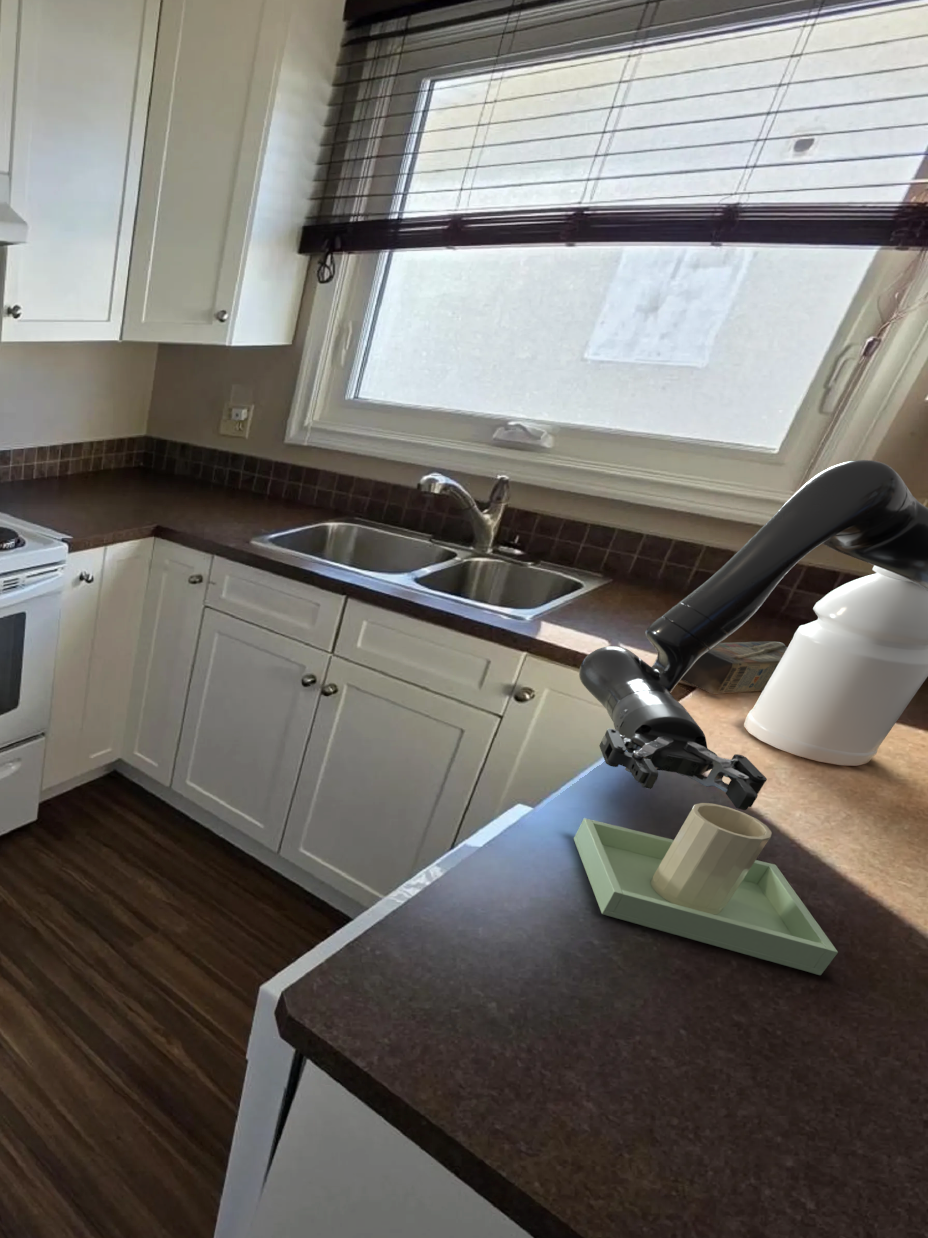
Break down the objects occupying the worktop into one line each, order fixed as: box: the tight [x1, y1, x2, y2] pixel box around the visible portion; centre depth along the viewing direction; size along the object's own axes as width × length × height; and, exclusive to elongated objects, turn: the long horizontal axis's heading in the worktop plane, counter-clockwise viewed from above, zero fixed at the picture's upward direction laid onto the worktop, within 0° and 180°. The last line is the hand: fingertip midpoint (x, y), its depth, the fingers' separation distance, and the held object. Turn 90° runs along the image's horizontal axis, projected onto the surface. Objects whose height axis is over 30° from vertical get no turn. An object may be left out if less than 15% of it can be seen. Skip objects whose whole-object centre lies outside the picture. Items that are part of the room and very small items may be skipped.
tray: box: [573, 817, 839, 976], centre depth 86 cm, size 18×15×3 cm
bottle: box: [743, 565, 928, 767], centre depth 113 cm, size 14×14×28 cm
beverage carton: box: [680, 640, 788, 695], centre depth 136 cm, size 8×19×7 cm, turn 102°
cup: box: [650, 802, 773, 915], centre depth 84 cm, size 6×6×10 cm
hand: (697, 792), depth 90 cm, fingers open, 8 cm apart
